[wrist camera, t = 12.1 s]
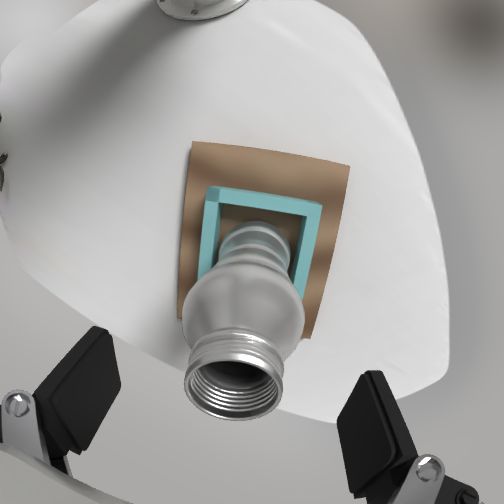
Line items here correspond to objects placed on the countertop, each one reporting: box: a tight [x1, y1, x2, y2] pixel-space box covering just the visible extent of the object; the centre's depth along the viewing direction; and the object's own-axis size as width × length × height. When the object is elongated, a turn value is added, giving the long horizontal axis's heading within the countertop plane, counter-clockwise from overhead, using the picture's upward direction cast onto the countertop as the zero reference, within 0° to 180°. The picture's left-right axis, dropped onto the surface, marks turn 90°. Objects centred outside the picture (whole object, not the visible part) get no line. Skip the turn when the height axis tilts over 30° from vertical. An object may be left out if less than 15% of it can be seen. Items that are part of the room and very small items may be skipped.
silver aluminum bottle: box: [182, 221, 305, 421], centre depth 19 cm, size 6×7×20 cm
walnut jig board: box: [177, 141, 350, 339], centre depth 28 cm, size 20×16×4 cm
